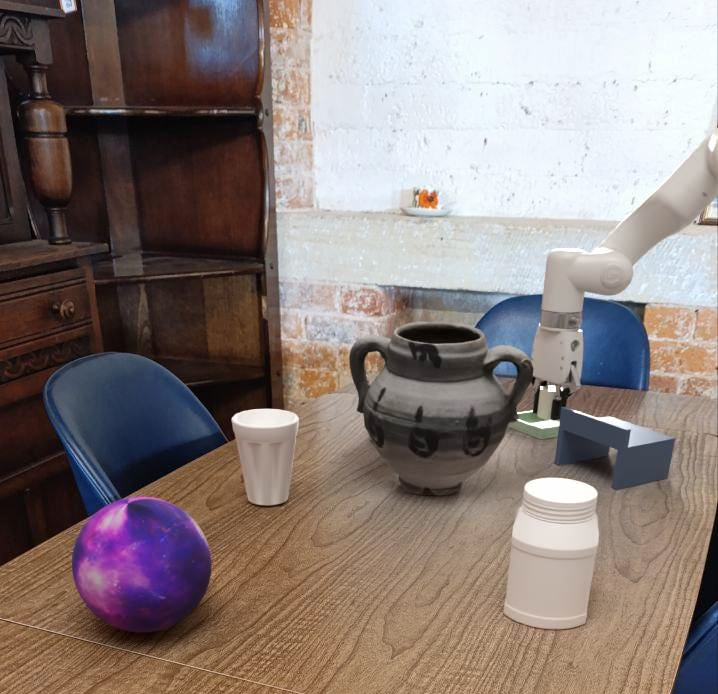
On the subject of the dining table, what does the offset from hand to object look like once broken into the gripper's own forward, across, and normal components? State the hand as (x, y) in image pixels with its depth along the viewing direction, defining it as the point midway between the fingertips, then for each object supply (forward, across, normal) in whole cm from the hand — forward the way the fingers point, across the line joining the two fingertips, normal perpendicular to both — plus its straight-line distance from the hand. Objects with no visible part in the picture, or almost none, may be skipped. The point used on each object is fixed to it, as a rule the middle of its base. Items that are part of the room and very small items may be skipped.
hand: (548, 415), depth 173 cm
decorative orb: (+3, -39, +95) cm, 103 cm away
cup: (+3, -10, +66) cm, 67 cm away
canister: (0, 0, 0) cm, 0 cm away
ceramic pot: (+3, -17, +40) cm, 44 cm away
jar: (+3, -58, +52) cm, 78 cm away
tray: (+3, 0, 0) cm, 3 cm away
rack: (+3, -25, +8) cm, 26 cm away
